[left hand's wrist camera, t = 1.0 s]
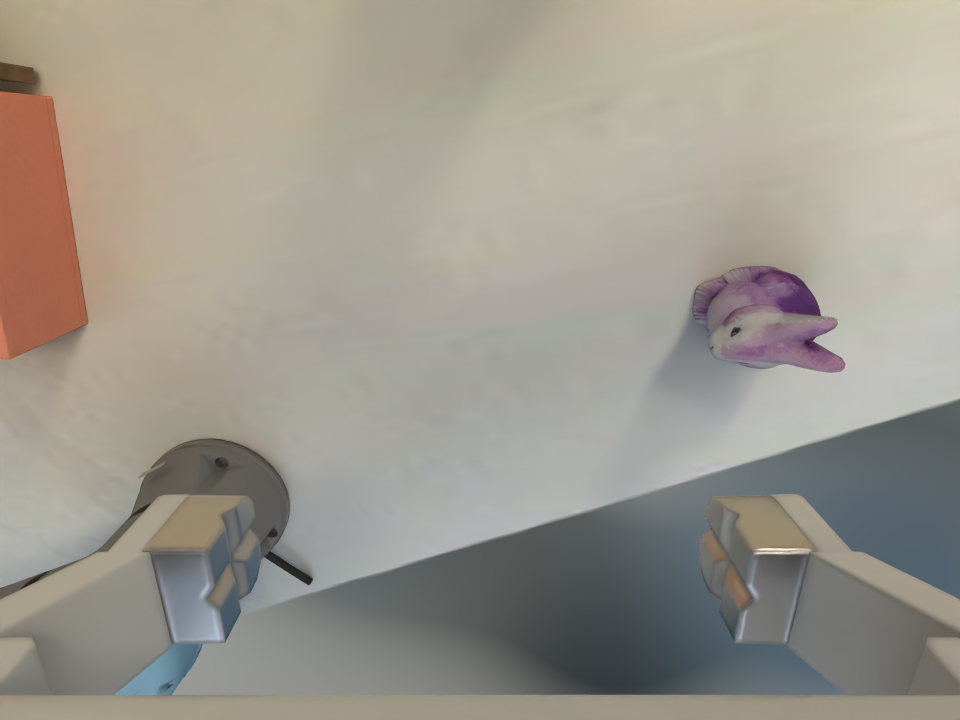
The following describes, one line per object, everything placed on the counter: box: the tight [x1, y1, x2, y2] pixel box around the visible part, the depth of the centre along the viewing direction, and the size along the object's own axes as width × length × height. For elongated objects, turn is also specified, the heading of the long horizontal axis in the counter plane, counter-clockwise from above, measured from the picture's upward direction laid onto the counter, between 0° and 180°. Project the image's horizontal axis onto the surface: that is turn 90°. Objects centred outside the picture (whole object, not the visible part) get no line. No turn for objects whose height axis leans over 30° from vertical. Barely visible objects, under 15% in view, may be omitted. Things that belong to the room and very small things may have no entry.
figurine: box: [693, 266, 845, 373], centre depth 50 cm, size 9×10×15 cm
